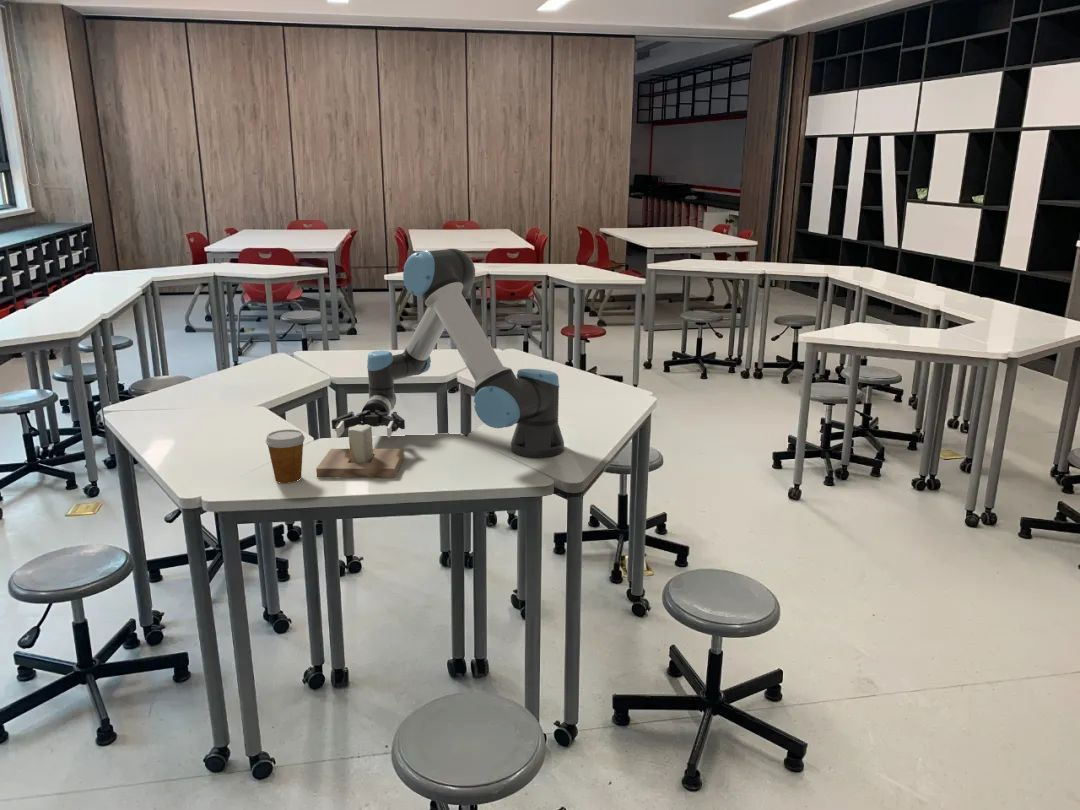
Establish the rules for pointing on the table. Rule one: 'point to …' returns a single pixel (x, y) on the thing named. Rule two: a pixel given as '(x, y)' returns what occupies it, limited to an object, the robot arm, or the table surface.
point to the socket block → (361, 464)
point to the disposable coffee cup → (286, 454)
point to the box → (361, 444)
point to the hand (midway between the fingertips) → (363, 432)
